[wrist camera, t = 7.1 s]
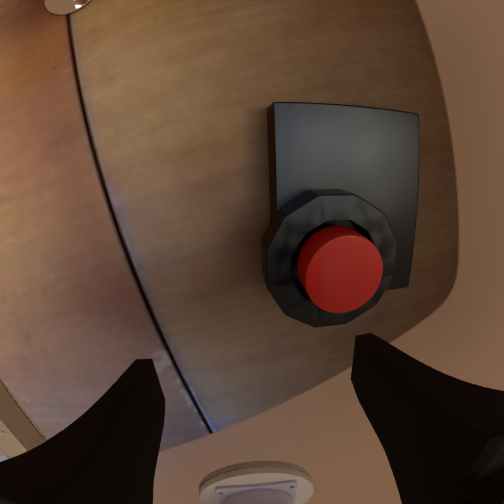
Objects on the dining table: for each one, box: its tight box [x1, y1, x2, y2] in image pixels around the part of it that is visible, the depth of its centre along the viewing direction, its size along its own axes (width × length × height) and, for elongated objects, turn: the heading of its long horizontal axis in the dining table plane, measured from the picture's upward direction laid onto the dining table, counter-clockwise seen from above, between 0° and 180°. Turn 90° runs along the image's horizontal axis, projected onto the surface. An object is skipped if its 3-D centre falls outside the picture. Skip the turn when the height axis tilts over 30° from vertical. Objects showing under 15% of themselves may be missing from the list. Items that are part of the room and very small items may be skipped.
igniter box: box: [261, 102, 419, 327], centre depth 16 cm, size 11×9×4 cm
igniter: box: [297, 225, 383, 313], centre depth 14 cm, size 4×4×2 cm
